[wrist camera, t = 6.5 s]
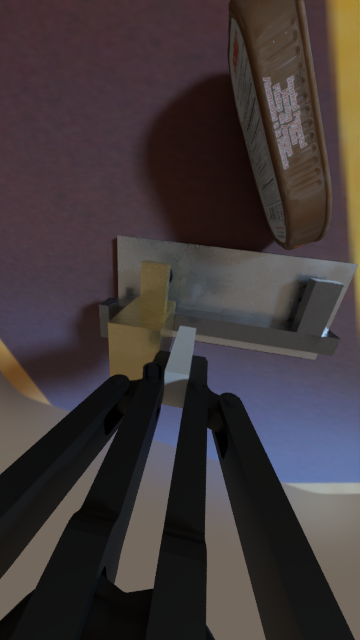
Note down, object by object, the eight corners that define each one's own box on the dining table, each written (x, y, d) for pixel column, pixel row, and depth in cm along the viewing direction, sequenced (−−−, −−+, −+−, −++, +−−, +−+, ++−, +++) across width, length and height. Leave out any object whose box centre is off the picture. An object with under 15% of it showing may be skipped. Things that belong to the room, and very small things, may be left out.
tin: (299, 238, 20) (353, 240, 12) (266, 251, 21) (298, 261, 13) (256, 43, 15) (301, -144, 8) (216, 70, 16) (222, -74, 9)
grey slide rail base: (117, 252, 22) (95, 256, 18) (350, 281, 20) (387, 294, 16) (118, 319, 25) (100, 336, 21) (318, 351, 23) (342, 376, 19)
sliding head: (145, 256, 22) (105, 270, 13) (182, 260, 21) (164, 278, 13) (143, 329, 25) (110, 376, 17) (174, 334, 25) (156, 385, 17)
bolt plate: (121, 235, 22) (116, 235, 21) (351, 262, 20) (358, 264, 19) (122, 324, 27) (118, 328, 26) (311, 355, 25) (315, 360, 24)
